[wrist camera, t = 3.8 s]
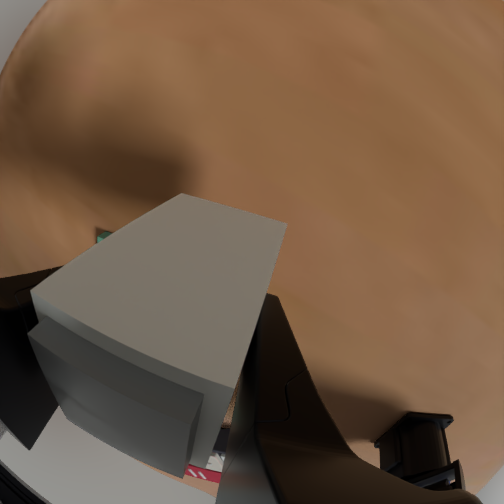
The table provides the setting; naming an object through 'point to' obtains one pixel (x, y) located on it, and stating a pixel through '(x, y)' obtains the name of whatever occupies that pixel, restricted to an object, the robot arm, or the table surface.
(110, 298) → the plug
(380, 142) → the table surface
